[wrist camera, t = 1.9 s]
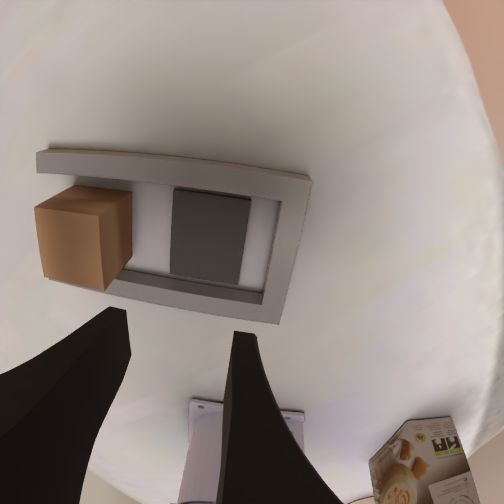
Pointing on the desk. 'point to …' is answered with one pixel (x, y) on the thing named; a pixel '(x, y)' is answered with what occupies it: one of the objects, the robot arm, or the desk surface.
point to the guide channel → (209, 178)
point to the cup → (365, 501)
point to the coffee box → (423, 466)
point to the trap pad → (208, 235)
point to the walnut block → (85, 235)
